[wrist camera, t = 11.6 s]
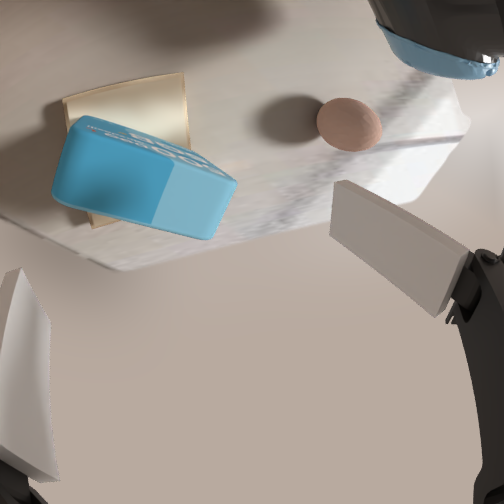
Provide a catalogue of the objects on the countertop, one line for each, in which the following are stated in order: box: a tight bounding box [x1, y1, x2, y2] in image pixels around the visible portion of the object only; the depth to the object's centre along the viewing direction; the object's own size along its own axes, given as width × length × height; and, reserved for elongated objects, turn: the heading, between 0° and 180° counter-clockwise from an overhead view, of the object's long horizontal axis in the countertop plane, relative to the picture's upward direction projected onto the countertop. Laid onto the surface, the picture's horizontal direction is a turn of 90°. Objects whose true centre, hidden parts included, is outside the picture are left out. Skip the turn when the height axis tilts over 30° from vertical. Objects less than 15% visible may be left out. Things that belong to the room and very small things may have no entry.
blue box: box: [51, 115, 237, 240], centre depth 21 cm, size 12×4×12 cm, turn 61°
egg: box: [317, 98, 382, 152], centre depth 33 cm, size 7×7×10 cm
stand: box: [62, 72, 191, 229], centre depth 27 cm, size 14×12×3 cm
